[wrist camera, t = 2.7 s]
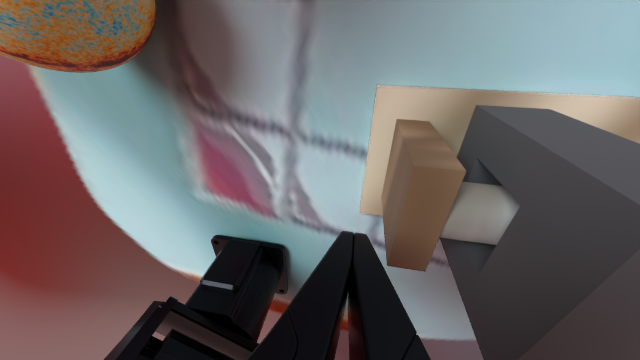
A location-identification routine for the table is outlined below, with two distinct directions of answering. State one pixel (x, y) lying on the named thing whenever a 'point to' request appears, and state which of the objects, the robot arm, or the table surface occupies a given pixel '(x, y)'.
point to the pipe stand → (453, 163)
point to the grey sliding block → (553, 239)
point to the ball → (75, 32)
